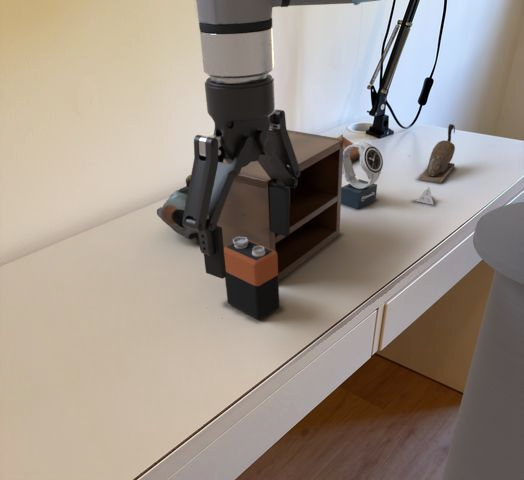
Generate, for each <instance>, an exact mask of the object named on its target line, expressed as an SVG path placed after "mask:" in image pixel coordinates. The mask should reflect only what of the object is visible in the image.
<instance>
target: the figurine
mask: <svg viewBox="0 0 524 480" xmlns="http://www.w3.org/2000/svg"><path fill="white" fill-rule="evenodd" d="M452 131H453V134H455V132H456V127H455V124H453V123H449V124H448V128H447V140H441V141H438V142H437V143H436V144H435V146H434V147H433V148H432V151H431V154H430V157H429V161H428V164H427V167H426V169H425V170H424V172H422V173H421V175H419V180H420V181H423V182H424V181H425V182H431V183H437V184H441V183H442V182H443V181H444V180H445V179H446V177H448V175H449V174H450V173H451V172H452V171H453V170H454V168H455V163H453V162H451V161H452V160H453V157H454V154H455V151H456V145H455V144H454V143H453V142H452Z"/></svg>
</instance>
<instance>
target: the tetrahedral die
mask: <svg viewBox="0 0 524 480" xmlns="http://www.w3.org/2000/svg"><path fill="white" fill-rule="evenodd" d="M430 188H431V187H430V186H428V187H427V188H426V189H425V190H424V191H423V192H422V193H421V195H420V196H419V197H418V198H417V199H416V200H415V201H416V203H417V202H418V203H422V204H427V205H432V206H433V205H434V204H435V203H434V200H433V195H432V193H431V189H430Z"/></svg>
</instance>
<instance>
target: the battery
mask: <svg viewBox="0 0 524 480" xmlns="http://www.w3.org/2000/svg"><path fill="white" fill-rule="evenodd" d="M224 256H225V266H226V277H225V278H224V280H225V290H226V299H227V304H228V305H230V306H232V307H234V308H236V309H237V310H239V311H241V312H243V313H245V314H247V315H248V316H251V317H252V318H254V319H256V320H262V319H264V318H265V317H267V316H269V315H270V314H272V313H274V312H275V311H277V310H278V309H279V308H280V291H279V290H280V289H279V288H280V287H279V281H278V257H277V252H275V251H273V250H271V249H269V248H266V247H264V246H262V245H259V244H257V243H254V242H252V241H250V240H248V239H247V238H246V237H236V238H234V239H233V243H232V244H230V245H228V246H226V247H224Z"/></svg>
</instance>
